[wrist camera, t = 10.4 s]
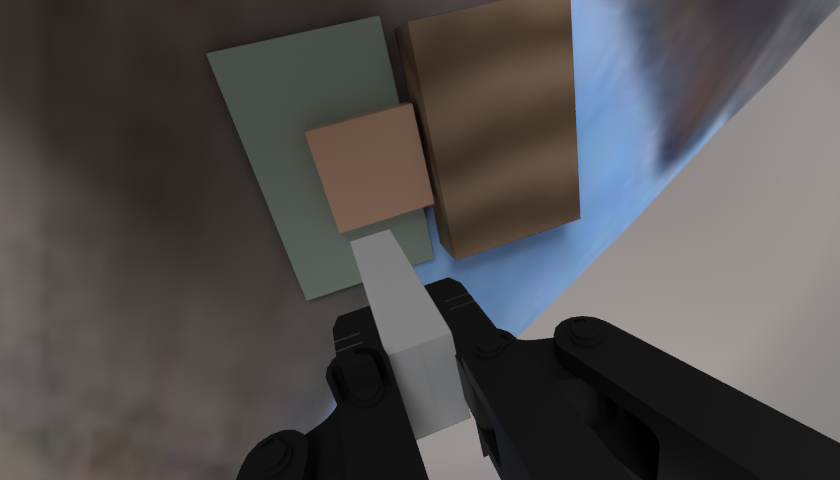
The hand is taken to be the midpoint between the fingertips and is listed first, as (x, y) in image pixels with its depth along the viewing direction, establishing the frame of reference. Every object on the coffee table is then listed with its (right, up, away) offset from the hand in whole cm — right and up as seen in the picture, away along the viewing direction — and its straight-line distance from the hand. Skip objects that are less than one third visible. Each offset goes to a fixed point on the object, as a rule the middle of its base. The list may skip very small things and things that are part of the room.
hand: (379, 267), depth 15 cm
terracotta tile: (-2, +7, +17) cm, 18 cm away
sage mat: (-5, +7, +17) cm, 19 cm away
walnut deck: (+7, +10, +19) cm, 23 cm away
